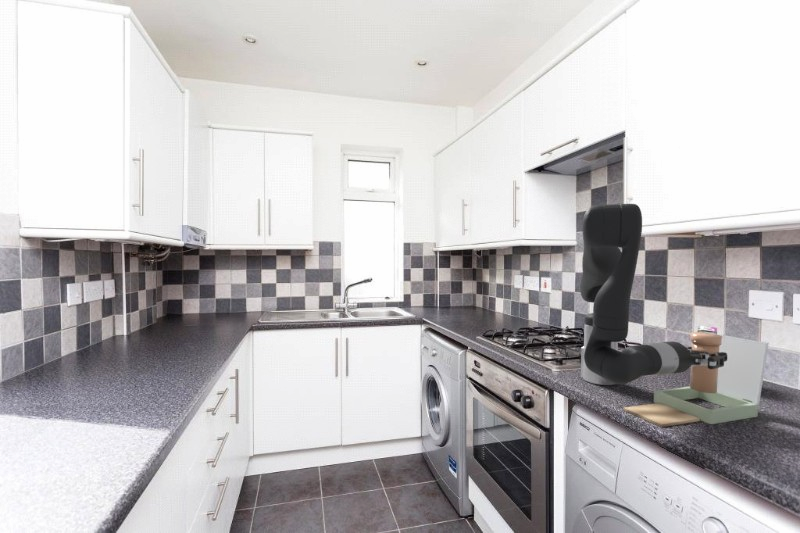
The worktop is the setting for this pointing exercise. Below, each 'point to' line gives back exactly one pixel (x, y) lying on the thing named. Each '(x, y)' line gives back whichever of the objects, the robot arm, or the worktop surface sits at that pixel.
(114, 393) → the worktop surface
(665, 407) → the mat
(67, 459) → the worktop surface
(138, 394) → the worktop surface
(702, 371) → the tan capped bottle
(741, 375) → the frame lid
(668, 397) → the frame
